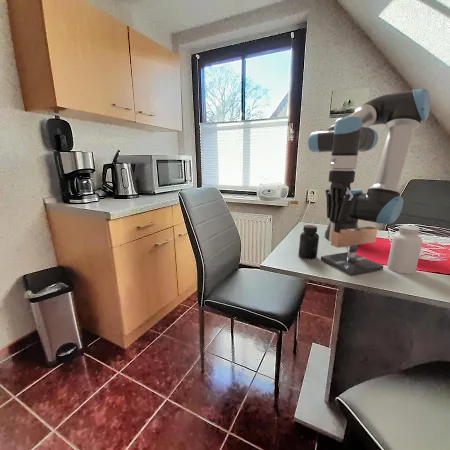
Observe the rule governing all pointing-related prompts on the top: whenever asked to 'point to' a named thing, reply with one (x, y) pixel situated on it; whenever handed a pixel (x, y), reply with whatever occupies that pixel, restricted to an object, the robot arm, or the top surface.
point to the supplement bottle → (308, 242)
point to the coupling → (354, 237)
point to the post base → (351, 263)
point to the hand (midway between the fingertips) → (333, 240)
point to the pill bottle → (405, 250)
